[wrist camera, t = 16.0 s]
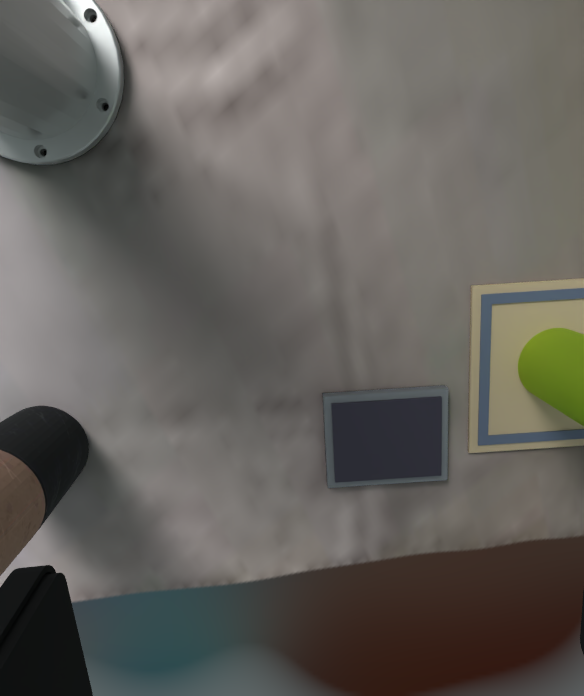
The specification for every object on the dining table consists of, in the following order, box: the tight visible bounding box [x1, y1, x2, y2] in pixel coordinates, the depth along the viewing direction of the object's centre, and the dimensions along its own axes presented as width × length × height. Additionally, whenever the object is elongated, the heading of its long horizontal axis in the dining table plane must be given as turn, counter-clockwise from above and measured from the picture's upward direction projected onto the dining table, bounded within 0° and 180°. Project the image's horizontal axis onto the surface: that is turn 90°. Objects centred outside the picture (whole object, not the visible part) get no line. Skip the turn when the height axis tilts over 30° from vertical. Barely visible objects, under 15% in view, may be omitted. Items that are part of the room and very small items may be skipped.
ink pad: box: [322, 385, 448, 488], centre depth 42 cm, size 8×10×1 cm
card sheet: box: [468, 278, 584, 453], centre depth 41 cm, size 14×14×1 cm
